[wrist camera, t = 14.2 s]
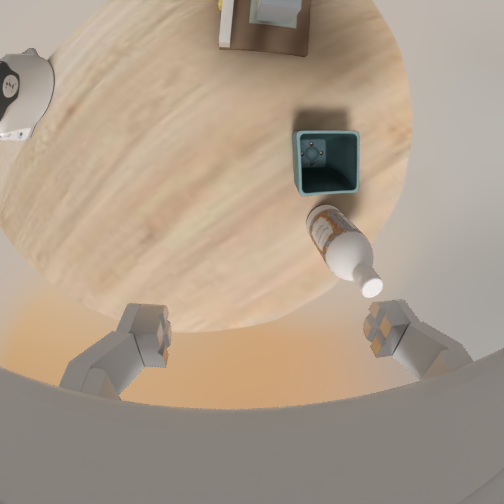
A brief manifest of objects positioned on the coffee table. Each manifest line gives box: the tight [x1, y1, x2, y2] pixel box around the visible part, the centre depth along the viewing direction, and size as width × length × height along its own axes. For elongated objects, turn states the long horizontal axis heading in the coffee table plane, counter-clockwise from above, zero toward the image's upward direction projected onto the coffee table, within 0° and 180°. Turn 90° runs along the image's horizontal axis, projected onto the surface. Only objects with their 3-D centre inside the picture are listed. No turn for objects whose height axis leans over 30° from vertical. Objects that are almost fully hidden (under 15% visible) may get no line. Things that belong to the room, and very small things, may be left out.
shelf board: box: [219, 0, 310, 57], centre depth 28 cm, size 13×18×2 cm
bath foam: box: [306, 205, 383, 297], centre depth 39 cm, size 7×7×20 cm
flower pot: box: [292, 130, 360, 196], centre depth 37 cm, size 9×9×9 cm
